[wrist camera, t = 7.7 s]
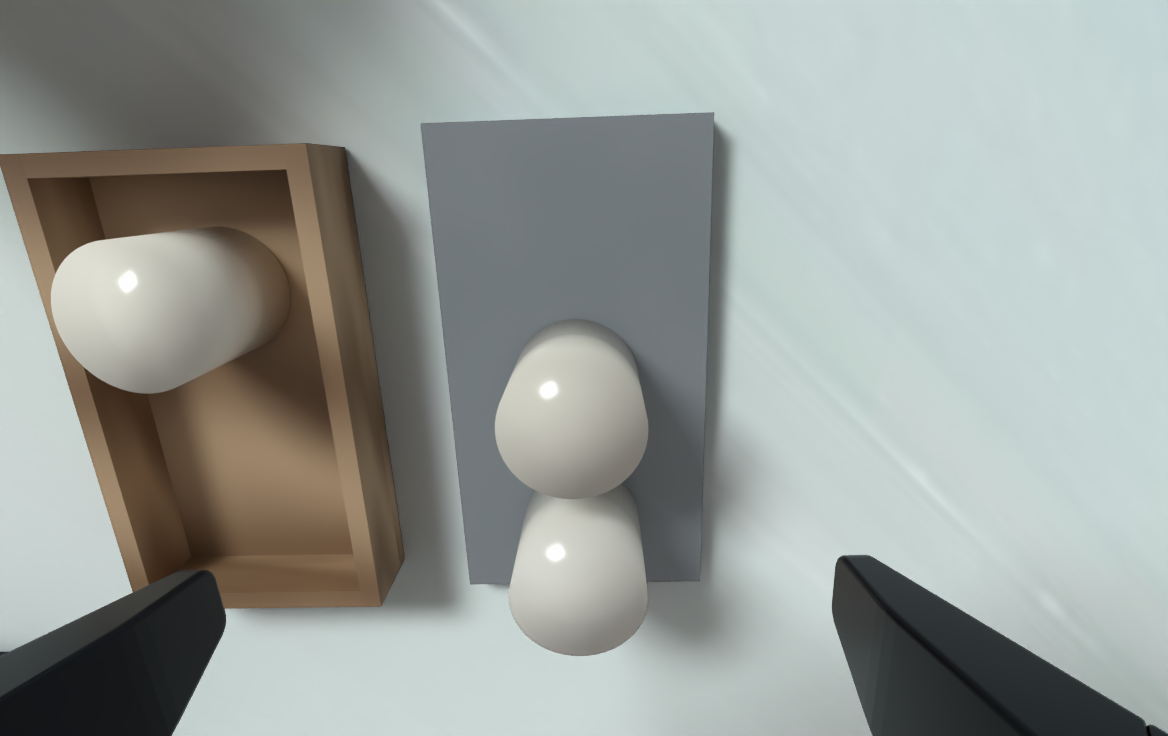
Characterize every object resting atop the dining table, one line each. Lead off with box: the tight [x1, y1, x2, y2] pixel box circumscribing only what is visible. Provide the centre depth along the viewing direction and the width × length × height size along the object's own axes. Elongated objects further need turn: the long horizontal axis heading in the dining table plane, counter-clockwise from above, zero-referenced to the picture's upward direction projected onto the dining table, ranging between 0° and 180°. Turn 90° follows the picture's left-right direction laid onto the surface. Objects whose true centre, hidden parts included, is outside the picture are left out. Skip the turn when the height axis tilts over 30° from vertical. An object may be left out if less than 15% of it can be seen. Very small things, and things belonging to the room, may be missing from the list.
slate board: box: [421, 112, 714, 584], centre depth 19 cm, size 15×8×1 cm, turn 2°
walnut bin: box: [0, 143, 405, 609], centre depth 19 cm, size 14×8×2 cm, turn 2°
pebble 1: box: [51, 226, 291, 394], centre depth 17 cm, size 4×4×4 cm
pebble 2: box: [495, 319, 648, 499], centre depth 17 cm, size 4×4×4 cm
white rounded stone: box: [509, 483, 648, 656], centre depth 18 cm, size 4×4×4 cm
